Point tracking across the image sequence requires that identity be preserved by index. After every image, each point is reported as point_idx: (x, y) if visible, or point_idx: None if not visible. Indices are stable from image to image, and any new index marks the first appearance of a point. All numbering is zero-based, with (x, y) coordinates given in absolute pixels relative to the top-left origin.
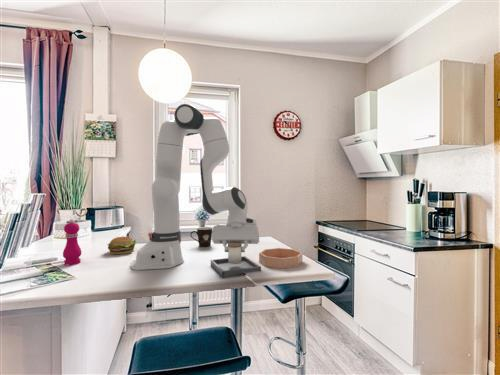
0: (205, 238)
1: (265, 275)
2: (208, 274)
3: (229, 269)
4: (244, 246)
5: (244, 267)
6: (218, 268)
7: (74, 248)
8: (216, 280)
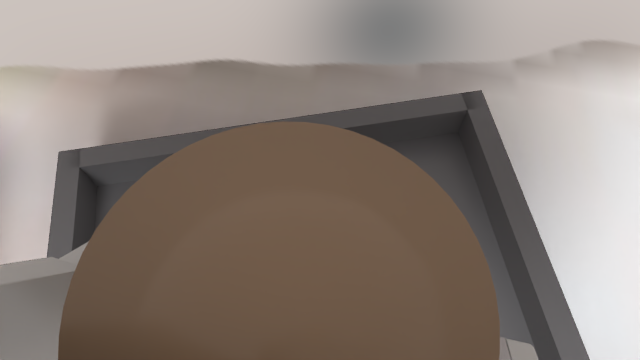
0: None
1: (83, 122)
2: (616, 258)
3: None
4: (62, 261)
5: None
6: (528, 218)
7: None
8: (513, 93)
